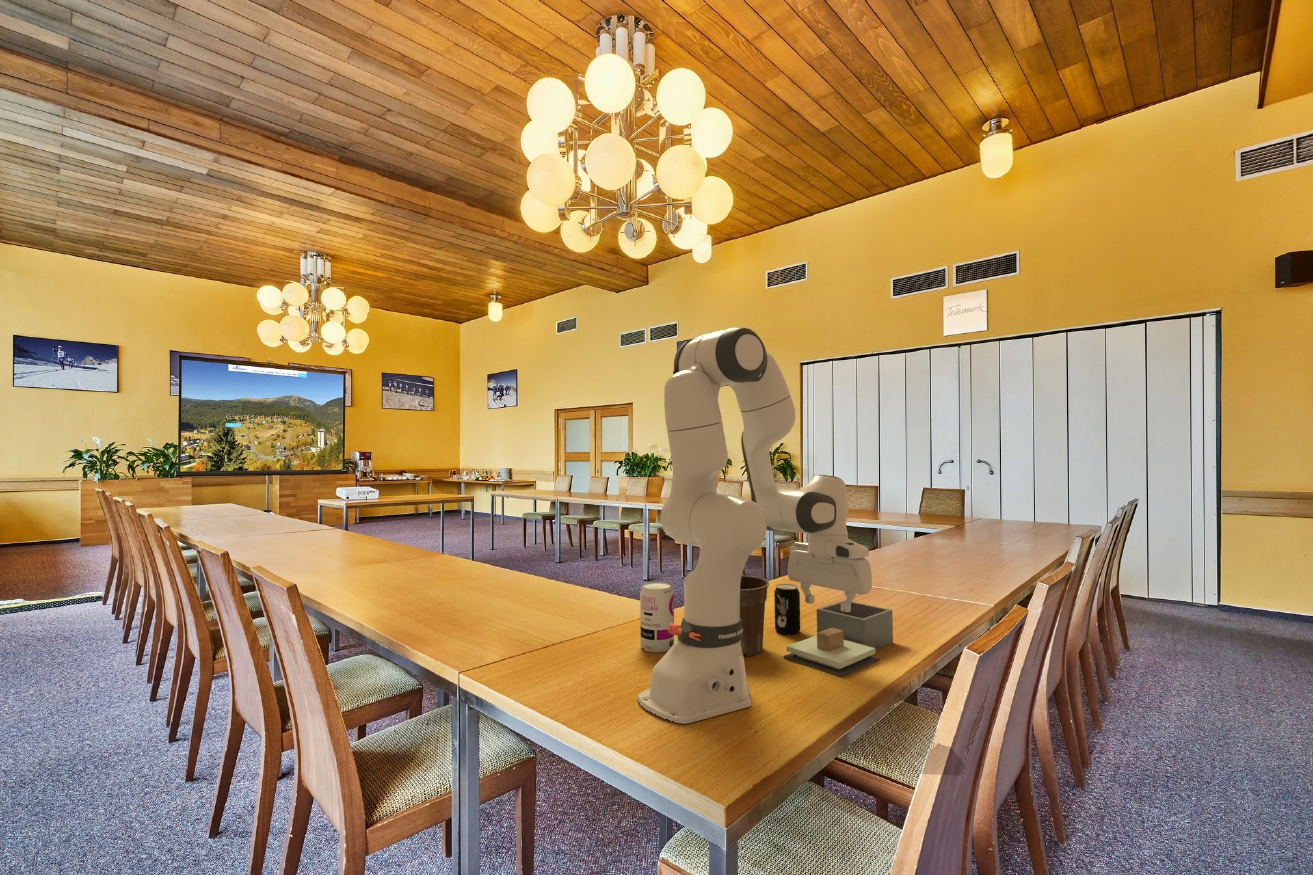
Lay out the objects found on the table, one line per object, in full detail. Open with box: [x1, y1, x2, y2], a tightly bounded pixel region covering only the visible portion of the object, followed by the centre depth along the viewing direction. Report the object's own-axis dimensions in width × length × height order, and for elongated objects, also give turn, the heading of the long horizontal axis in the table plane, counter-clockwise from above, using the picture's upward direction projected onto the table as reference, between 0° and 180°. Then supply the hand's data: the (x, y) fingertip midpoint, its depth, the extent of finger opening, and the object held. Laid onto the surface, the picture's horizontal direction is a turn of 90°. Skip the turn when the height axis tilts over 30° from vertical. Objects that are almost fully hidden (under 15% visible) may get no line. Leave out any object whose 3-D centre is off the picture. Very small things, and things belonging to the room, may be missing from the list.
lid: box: [786, 628, 876, 669], centre depth 127 cm, size 14×14×6 cm
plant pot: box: [740, 575, 770, 657], centre depth 135 cm, size 16×16×16 cm
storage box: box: [816, 599, 894, 651], centre depth 139 cm, size 13×13×8 cm
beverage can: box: [773, 583, 801, 636], centre depth 148 cm, size 7×7×12 cm
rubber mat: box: [783, 652, 880, 678], centre depth 127 cm, size 15×15×1 cm
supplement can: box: [639, 582, 675, 653], centre depth 136 cm, size 8×8×15 cm
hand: (827, 607), depth 127 cm, fingers open, 8 cm apart
